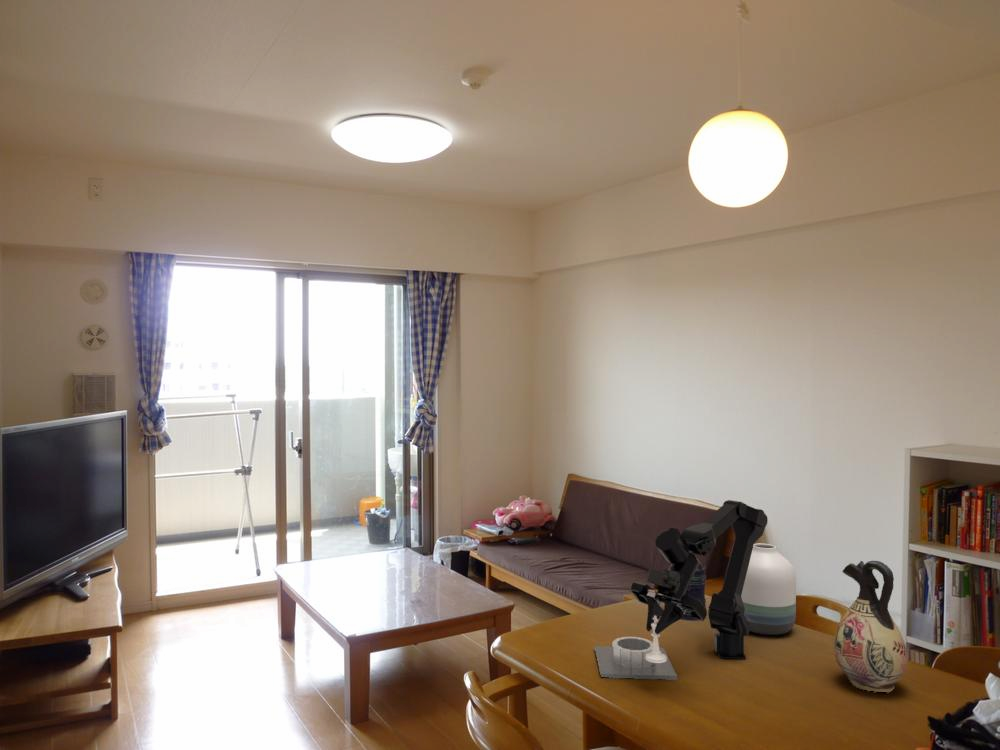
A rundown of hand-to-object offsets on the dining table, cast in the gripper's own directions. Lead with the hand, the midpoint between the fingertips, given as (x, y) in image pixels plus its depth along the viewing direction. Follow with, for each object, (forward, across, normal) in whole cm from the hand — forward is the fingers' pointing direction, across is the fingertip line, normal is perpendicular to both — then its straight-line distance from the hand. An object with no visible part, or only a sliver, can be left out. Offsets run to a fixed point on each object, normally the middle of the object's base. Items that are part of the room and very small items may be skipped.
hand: (651, 631), depth 164 cm
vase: (-30, -4, +51) cm, 59 cm away
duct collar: (+4, -12, +15) cm, 20 cm away
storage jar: (-26, -25, +46) cm, 59 cm away
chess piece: (+4, 0, +6) cm, 7 cm away
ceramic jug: (-19, +32, +39) cm, 54 cm away
